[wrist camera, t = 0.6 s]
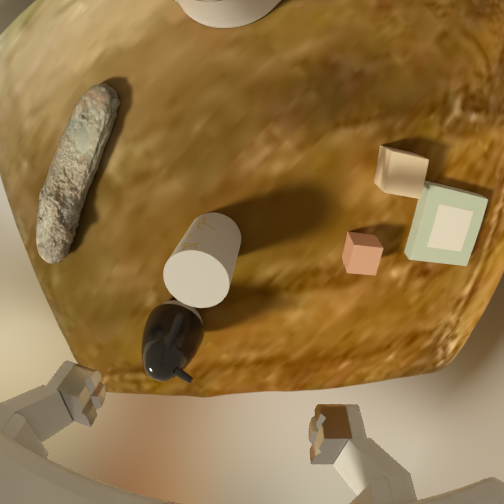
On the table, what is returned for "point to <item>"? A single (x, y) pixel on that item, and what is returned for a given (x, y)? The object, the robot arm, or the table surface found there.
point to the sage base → (445, 225)
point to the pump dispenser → (171, 340)
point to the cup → (204, 261)
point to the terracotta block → (362, 253)
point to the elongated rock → (74, 171)
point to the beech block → (400, 172)
